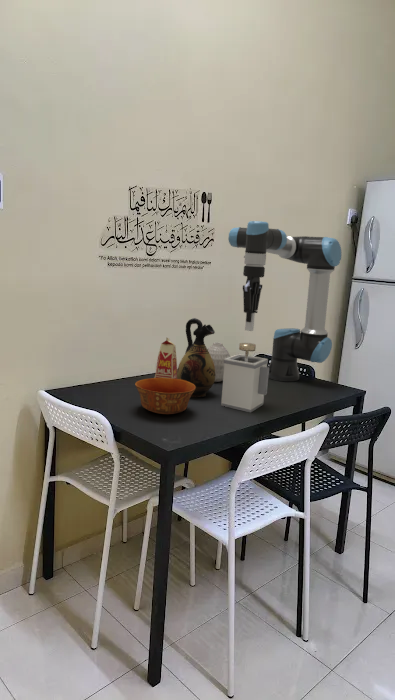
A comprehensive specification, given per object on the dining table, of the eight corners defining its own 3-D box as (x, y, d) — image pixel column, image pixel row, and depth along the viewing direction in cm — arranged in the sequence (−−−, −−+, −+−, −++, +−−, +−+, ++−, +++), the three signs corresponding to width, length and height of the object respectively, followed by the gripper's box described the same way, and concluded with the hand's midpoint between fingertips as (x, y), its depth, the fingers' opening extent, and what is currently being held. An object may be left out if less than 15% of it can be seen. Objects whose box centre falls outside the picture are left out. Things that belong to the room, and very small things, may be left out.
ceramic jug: (221, 393, 209) (226, 320, 203) (201, 402, 196) (207, 324, 190) (185, 385, 217) (189, 314, 211) (164, 393, 204) (168, 318, 198)
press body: (234, 398, 204) (238, 353, 200) (270, 406, 197) (275, 360, 193) (220, 405, 193) (224, 358, 189) (258, 414, 186) (262, 365, 182)
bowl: (150, 398, 196) (151, 373, 194) (202, 408, 189) (204, 382, 187) (123, 414, 177) (124, 386, 175) (180, 425, 170) (181, 396, 168)
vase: (213, 385, 221) (216, 346, 217) (195, 378, 230) (197, 341, 227) (235, 381, 229) (238, 344, 225) (216, 374, 238) (219, 339, 235)
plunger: (236, 394, 201) (241, 340, 197) (259, 399, 197) (264, 344, 193) (226, 400, 193) (230, 344, 189) (249, 405, 189) (254, 348, 184)
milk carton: (174, 386, 215) (176, 339, 211) (152, 384, 216) (154, 337, 212) (178, 381, 223) (181, 335, 219) (157, 378, 225) (159, 333, 221)
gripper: (252, 264, 192) (246, 327, 197) (237, 264, 181) (232, 331, 186) (271, 266, 189) (265, 329, 194) (257, 266, 178) (251, 334, 182)
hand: (249, 330), depth 190 cm, fingers closed
